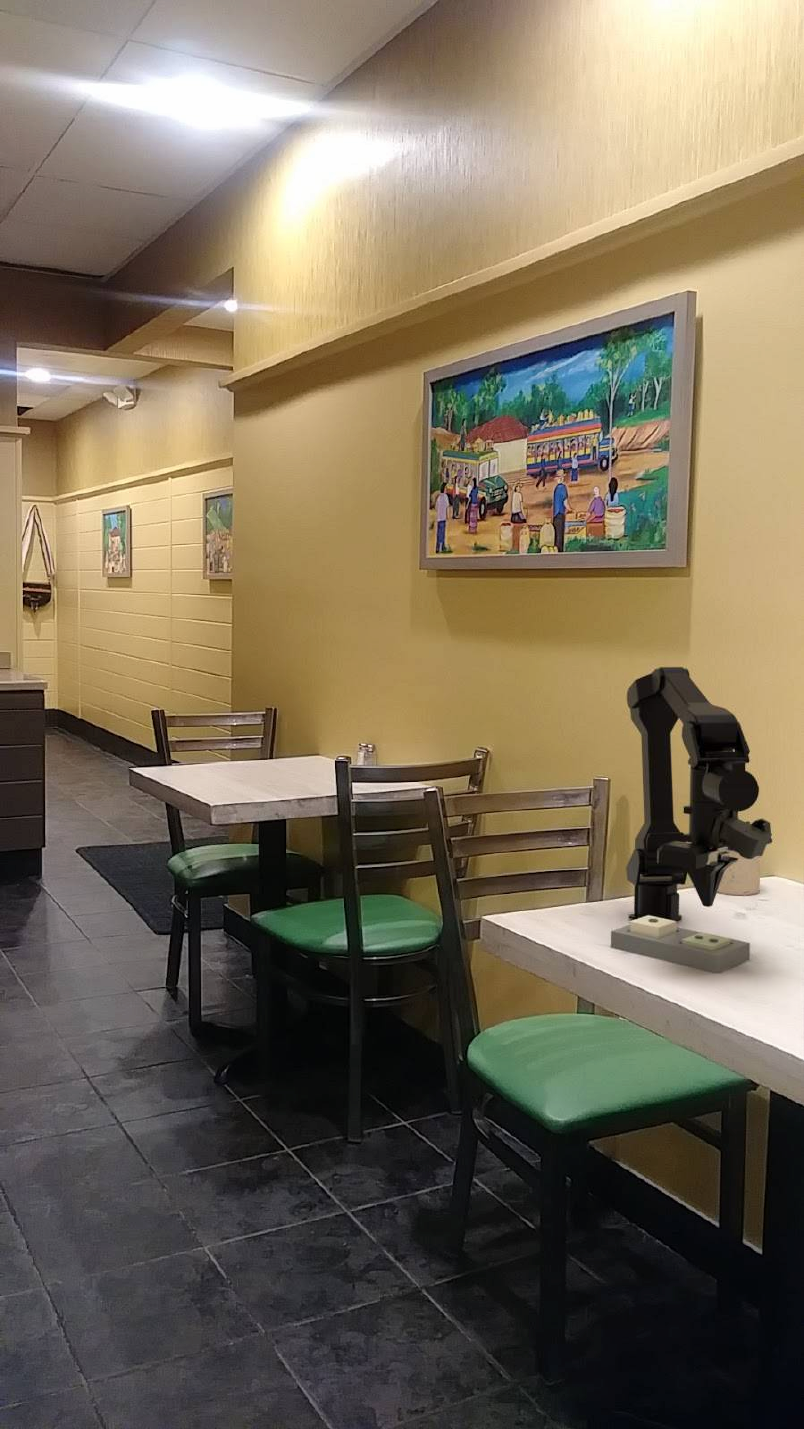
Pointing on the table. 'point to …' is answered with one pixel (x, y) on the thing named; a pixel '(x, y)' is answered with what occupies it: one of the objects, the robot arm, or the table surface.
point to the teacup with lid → (741, 876)
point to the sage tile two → (706, 941)
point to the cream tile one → (653, 926)
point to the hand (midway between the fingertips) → (707, 906)
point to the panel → (681, 949)
